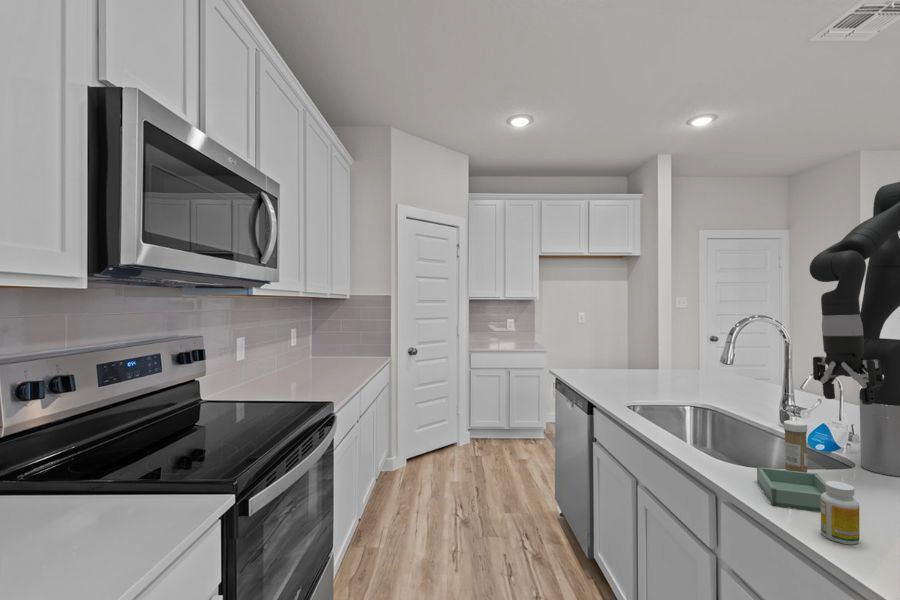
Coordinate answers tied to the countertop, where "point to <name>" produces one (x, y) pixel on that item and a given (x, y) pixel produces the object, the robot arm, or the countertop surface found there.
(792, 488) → the bin
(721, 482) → the countertop surface
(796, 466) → the amber pill bottle
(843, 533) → the supplement bottle
